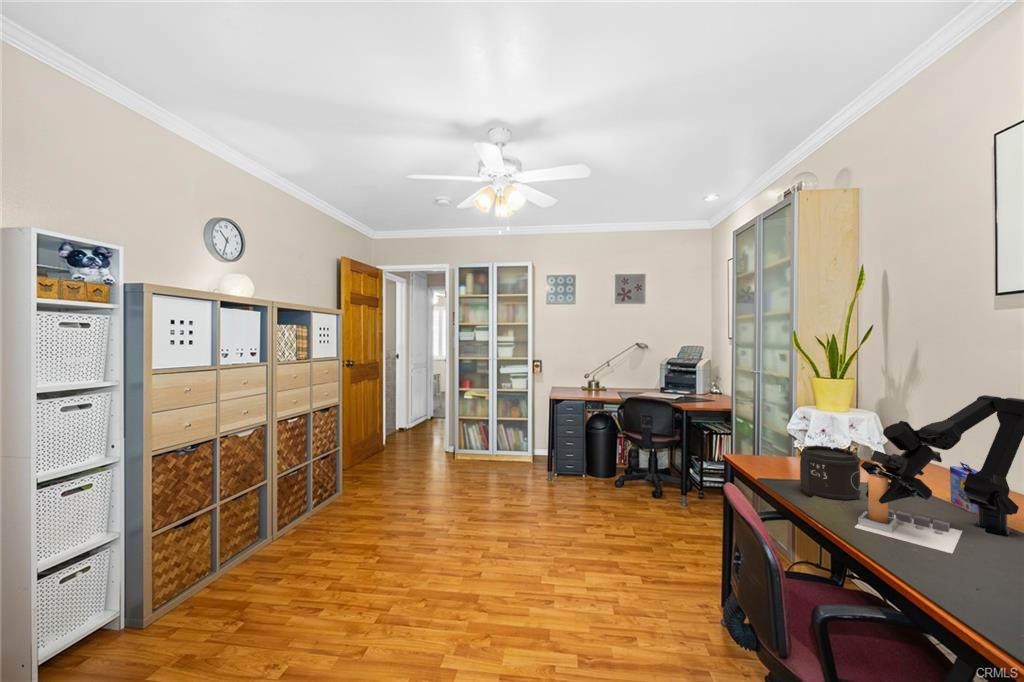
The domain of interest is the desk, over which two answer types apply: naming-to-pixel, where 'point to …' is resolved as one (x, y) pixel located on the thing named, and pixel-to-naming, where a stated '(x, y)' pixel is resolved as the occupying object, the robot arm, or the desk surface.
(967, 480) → the robot arm
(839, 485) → the black drum container
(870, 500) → the plug
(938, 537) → the breaker panel
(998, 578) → the desk surface
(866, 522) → the socket collar
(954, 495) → the ink cartridge box
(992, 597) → the desk surface
